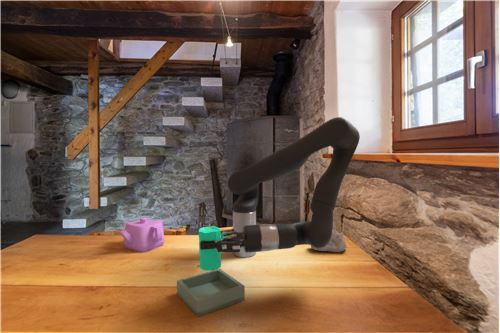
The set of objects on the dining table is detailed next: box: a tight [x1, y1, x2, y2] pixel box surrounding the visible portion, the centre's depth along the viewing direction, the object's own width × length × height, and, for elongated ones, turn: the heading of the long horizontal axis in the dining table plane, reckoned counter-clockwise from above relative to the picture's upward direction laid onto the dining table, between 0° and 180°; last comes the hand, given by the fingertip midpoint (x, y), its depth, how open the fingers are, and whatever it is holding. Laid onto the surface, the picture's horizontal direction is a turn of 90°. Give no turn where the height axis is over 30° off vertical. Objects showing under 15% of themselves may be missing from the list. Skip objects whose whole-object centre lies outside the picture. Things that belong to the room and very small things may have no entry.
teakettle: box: [119, 217, 165, 253], centre depth 123 cm, size 17×17×12 cm
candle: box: [198, 223, 222, 272], centre depth 79 cm, size 6×6×12 cm
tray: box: [176, 268, 246, 318], centre depth 80 cm, size 14×14×4 cm
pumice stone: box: [310, 229, 348, 253], centre depth 117 cm, size 15×8×10 cm, turn 83°
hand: (200, 242), depth 79 cm, fingers closed on candle, 5 cm apart
